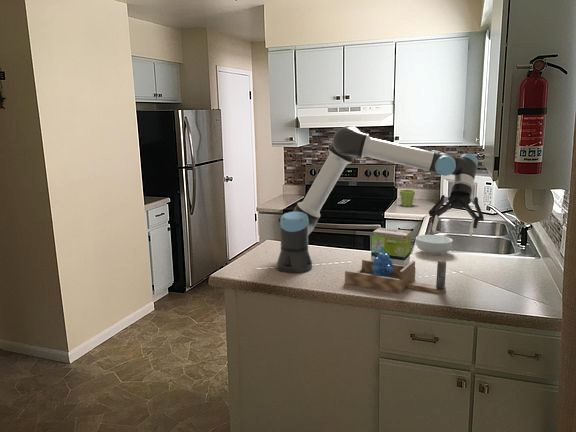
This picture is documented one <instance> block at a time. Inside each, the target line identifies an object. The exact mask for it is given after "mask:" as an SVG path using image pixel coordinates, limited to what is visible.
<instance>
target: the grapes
mask: <svg viewBox="0 0 576 432" xmlns="http://www.w3.org/2000/svg"><path fill="white" fill-rule="evenodd" d="M389 258H390V257H389V255H388V254H383V253H379V254H378V257H376V258H374V260H373V262H374V264H375V265H373V266H372V271H373V272H375V273H374V274H373V275H377V276H383V277H389V278H391V276H390V275H389V274H391V273H392V272H393V269H392V267H391V266H392V264H393V262H392V260H391V259H389Z"/></svg>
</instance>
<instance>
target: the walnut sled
mask: <svg viewBox="0 0 576 432" xmlns="http://www.w3.org/2000/svg"><path fill="white" fill-rule="evenodd" d="M373 265H375V264H374V262H373V261H371V260H367V259H362V260H361V268H360V269H359V270H357V271H353V270H345V271H344V284H346V285H352V286H357V287H362V288H367V289H374V290H380V291H384V292H391V293H396V294H401V293H403V291H405V290H406V289H410V290H411V289H412V290H418V291H421V292H422V291H423V292H428V293H434V294H440V295H444V294H445V293H446V290H447V287H446V274H447V273H446V272H447V261H446V260H441V259H440V260H437V266H436V267H437V268H436V281H435V282H436V283H435V284H436V285H435V284H430V283H426V282H425V283H423V282H417V281H415V280H416V260H411V261H410V262H409V263H408V264H407V265H406V266H402V265H396V264H392V266H391V267H392V269H393V272H392V273H391V274H389V275H390V278H389V277H383V276H377V275H374V273H375V272H373V271H372V266H373Z"/></svg>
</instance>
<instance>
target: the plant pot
mask: <svg viewBox="0 0 576 432" xmlns="http://www.w3.org/2000/svg"><path fill="white" fill-rule="evenodd" d="M398 191H399V196H400V202H401V206H402V207H404V208H405V207H408V208H409V207H413V203H414V198H415V193H416V192H417V190H414V189H399V190H398Z"/></svg>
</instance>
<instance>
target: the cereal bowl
mask: <svg viewBox="0 0 576 432" xmlns="http://www.w3.org/2000/svg"><path fill="white" fill-rule="evenodd" d="M415 245H416V247H417V249H419V250H420V251H422V252H423V253H424V254H426V255H431V256H440V255H442V254H444V253H447V252H449V251H451V249H452V247H453V239H452V238H450V237H449V236H448V237H447V236H445V235H444V236H443V235H438V234H437V235H436V234H421V235H417V236H416V237H415Z"/></svg>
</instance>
